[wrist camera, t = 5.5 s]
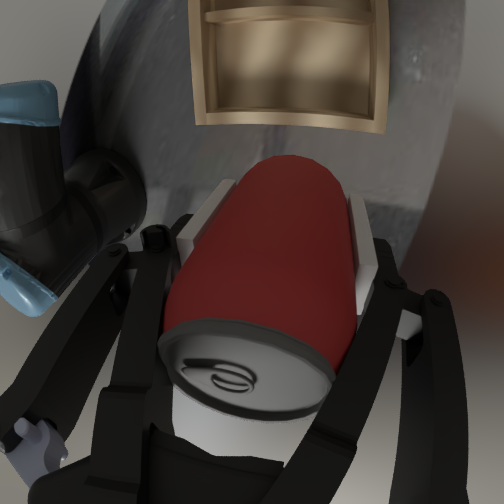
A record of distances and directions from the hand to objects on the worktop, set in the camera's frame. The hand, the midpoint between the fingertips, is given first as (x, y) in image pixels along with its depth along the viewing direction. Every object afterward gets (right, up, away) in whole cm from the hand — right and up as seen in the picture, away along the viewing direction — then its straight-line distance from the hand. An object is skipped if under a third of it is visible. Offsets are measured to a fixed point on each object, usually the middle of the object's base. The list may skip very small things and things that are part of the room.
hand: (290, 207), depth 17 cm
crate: (+2, +20, +7) cm, 21 cm away
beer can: (0, 0, +1) cm, 1 cm away
